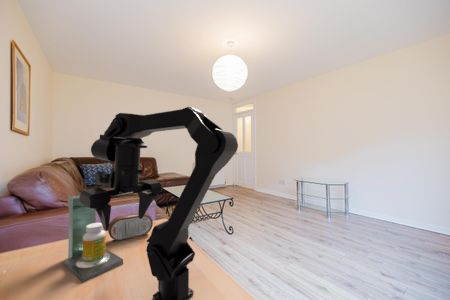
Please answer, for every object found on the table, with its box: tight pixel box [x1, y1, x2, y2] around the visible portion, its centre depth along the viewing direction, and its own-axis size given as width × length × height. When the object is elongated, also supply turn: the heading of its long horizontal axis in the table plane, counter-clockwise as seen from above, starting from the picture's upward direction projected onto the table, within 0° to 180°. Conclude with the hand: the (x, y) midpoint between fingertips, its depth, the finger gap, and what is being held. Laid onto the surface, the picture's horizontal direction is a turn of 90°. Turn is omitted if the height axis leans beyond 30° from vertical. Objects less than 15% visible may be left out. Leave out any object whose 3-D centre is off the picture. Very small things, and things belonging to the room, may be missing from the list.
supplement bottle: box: [82, 222, 107, 264], centre depth 56 cm, size 5×5×10 cm
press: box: [63, 194, 124, 283], centre depth 59 cm, size 24×10×18 cm, turn 55°
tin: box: [107, 212, 154, 241], centre depth 74 cm, size 15×3×8 cm, turn 124°
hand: (124, 223), depth 52 cm, fingers open, 9 cm apart
